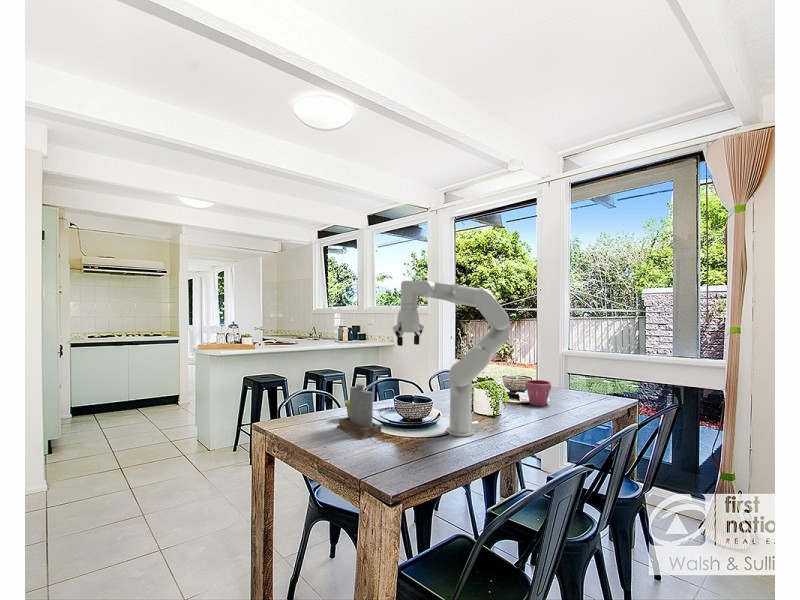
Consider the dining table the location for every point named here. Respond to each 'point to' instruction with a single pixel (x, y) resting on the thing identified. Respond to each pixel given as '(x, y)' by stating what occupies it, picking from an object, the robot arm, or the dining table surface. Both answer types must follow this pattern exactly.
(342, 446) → the dining table surface
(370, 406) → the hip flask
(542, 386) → the plant pot
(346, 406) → the plant pot
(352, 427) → the walnut stand
